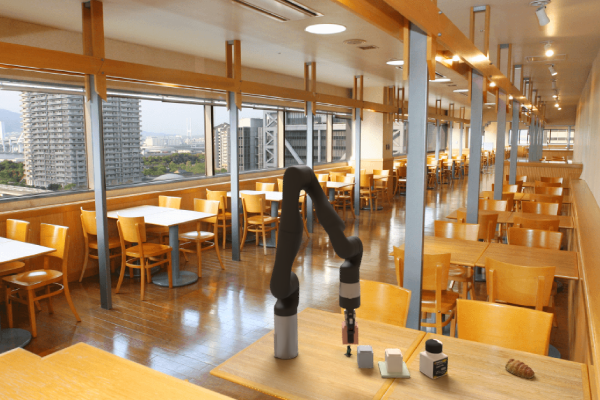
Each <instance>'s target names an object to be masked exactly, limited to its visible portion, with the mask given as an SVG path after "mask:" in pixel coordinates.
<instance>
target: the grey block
mask: <svg viewBox="0 0 600 400" xmlns="http://www.w3.org/2000/svg"><path fill="white" fill-rule="evenodd" d="M356 361H357V367H358V369H374V349H373V346H372V345H369V344H367V345H366V344H365V345H363V344H362V345H361V344H358V345H357V346H356Z"/></svg>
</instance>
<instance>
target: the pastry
mask: <svg viewBox="0 0 600 400" xmlns="http://www.w3.org/2000/svg"><path fill="white" fill-rule="evenodd" d="M504 368H505V370H507V371H508V373H509V372H510V373H511V374H513V375H516V376H517V377H521V378H524V379H525V378H526V379H531V378H534V376H535V372H534V371H535V370H533V369H532V368H531V367H530V366H529V365H528V364H526V363H525V362H524V361H521V360H519V359H517V360H516V359H515V358H512V357H511V358H509V359H508V360H507V362H506V363H505V365H504Z"/></svg>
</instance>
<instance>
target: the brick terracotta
mask: <svg viewBox="0 0 600 400" xmlns="http://www.w3.org/2000/svg"><path fill="white" fill-rule="evenodd" d="M349 330H353V328H349ZM341 340H342V345H359V324H358V321H356V320H355V334H354V343H348V341H347V326H346V325H345V320H343V321H341Z"/></svg>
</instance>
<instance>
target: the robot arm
mask: <svg viewBox="0 0 600 400" xmlns="http://www.w3.org/2000/svg"><path fill="white" fill-rule="evenodd" d="M281 189H282V190H281V191H282V194H281V209H280V216H279V217H280V220H279V225H278V231H277V232H278V234H277V241H276V242H277V243H276V250H275V258H274V263H273V267H272V273H271V277H270V281H269V290H270V293H271V295H272V296H273V297H274V298H275V299H276V302H275V303H274V305H273V323H274V324H273V327H274V330H273V354H274V356H273V357H274V358H279V359H282V360H290V359H294V358H296V357H297V356H298V355H299V331H298V329H299V327H298V325H299V323H298V308H299V304H300V279H299V277H298V275H297V274H296V273H295V272H294V271H292V270H293V269H292V268H293V265H294V263H295V259H296V257H297V255H298V253H299V250H300V248H301V245H302V241H303V235H304V220H303V217H302V214H301V211H300V207H299V206H300V197H301V196H300V195H301V191H304V192H305V193H306V195H308V197H309V198H310V200H311V202H312V204H313V208H314V213H315V217H316V219H317V221H318V222H319V224H320V226H321V227H322V228H323V231H325V233H326V234H327V235H328V239H329V242H330V245H331V246H332V249H333V251H334V253H335V254H336V255H337V256H338V257H339V258H340V259H342V260H344V261H343V262H342V264H341V265H340V266H339V269H338V271H339V274H338V275H339V282H338V283H339V284H338V306H339V307H340V308H341V309H344V310H343V315H344V321H345V325H346V326H347V341H348V343H354V334H355V321H356V318H357V314H356V310H357V309H359V308H360V307H361V306H362V305H361V301H362V299H361V296H362V295H361V281H360V277H361V275H360V268H361V266H362V260H363V256H364V244H363V242H362V240H361V238H360V237H359V236H357V235H350V236H347V237H346V235H345V233H344V231H345V230H346V224H345V222H344V220H342V218H341V216H339V214H338V213H337V211H336V210H335V208H334V206H333V205H332V204H331V202H330V200H329V198H328V197H327V195H326V193H325V191H324V189H323V187H322V185H321V183H320V181H319V179H318V177H317V176H316V173H315V172H314V170H313V169H312V167H310V166H309V165H306V164H305V165H304V164H303V165H302V164H300V165H297V164H296V165H290V166H288V167H287V168H286V169H285V171H284V172H283V176H282V188H281ZM349 328H353V330H349Z"/></svg>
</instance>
